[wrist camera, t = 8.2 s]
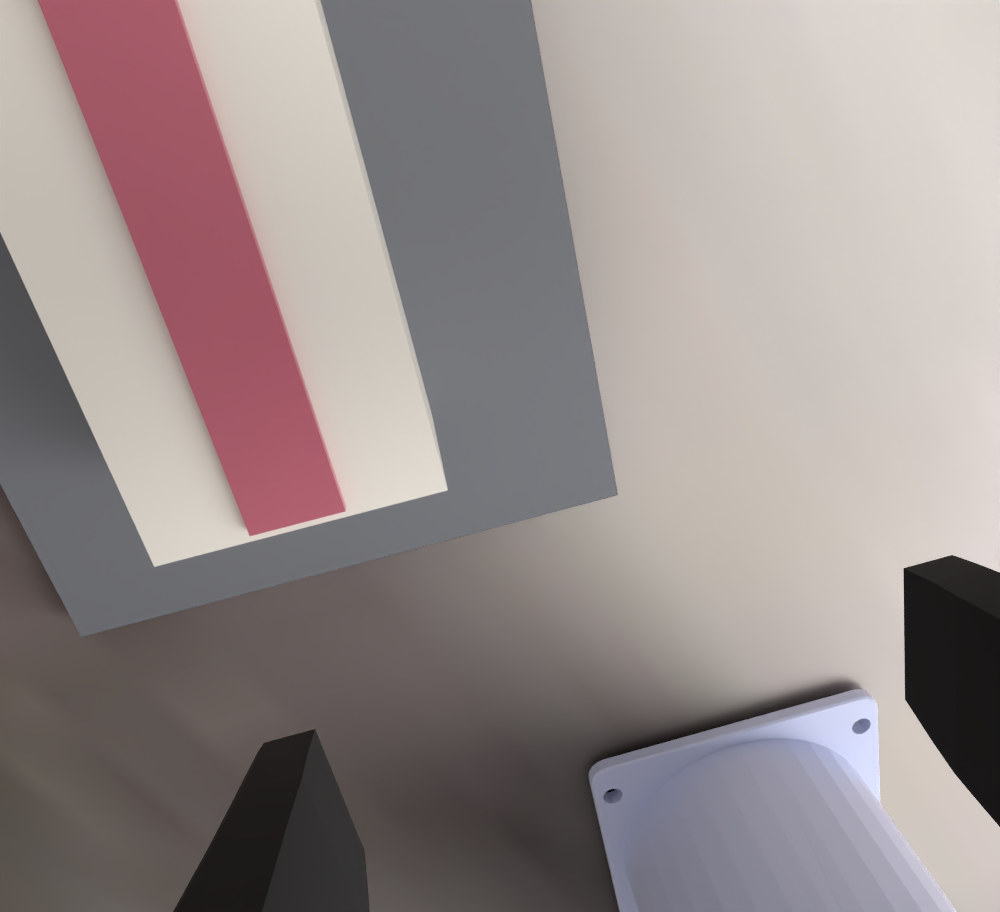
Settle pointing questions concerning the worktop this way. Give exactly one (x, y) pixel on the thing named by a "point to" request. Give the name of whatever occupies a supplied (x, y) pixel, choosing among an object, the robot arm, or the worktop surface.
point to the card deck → (210, 264)
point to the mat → (429, 313)
